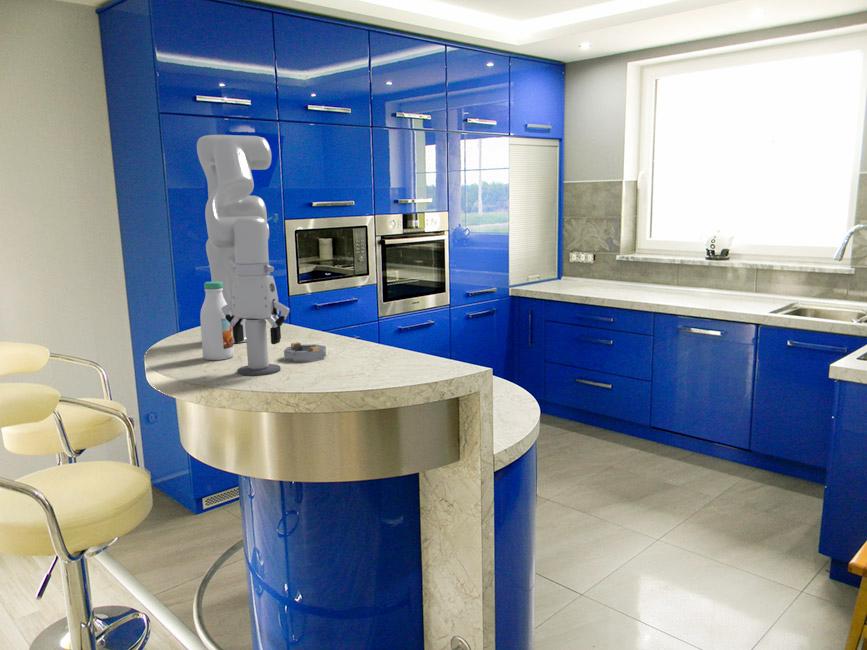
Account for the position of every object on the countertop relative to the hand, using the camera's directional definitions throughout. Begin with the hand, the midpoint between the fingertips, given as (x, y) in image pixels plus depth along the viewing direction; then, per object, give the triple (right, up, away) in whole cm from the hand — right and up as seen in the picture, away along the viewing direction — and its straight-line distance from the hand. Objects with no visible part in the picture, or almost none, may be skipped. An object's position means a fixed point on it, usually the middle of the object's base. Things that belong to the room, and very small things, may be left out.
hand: (257, 342), depth 163 cm
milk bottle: (-15, -5, +17) cm, 23 cm away
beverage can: (0, -6, +1) cm, 7 cm away
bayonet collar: (+9, -4, +15) cm, 18 cm away
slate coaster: (0, -7, +1) cm, 7 cm away
